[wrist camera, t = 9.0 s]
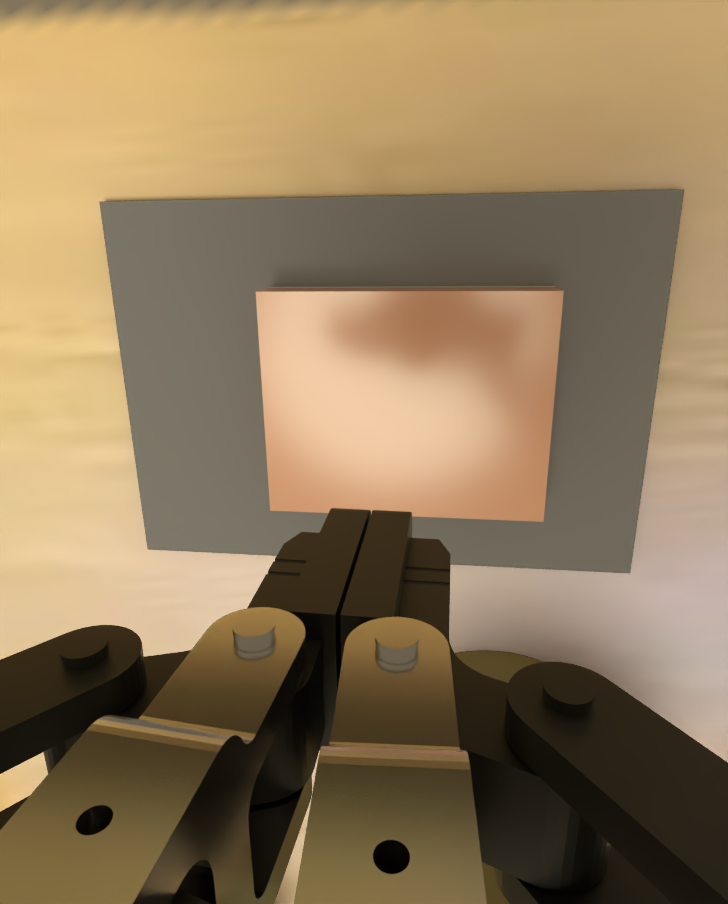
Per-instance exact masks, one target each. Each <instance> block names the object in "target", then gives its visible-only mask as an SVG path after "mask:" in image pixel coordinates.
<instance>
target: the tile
mask: <svg viewBox="0 0 728 904" xmlns="http://www.w3.org/2000/svg"><path fill="white" fill-rule="evenodd" d="M563 294H564V291H563V290H561V289H559V288H557V287H555V286H384V287H269V288H266V289H263V290H259V291H256V306H257V321H258V336H259V351H260V366H261V381H262V396H263V410H264V425H265V440H266V455H267V470H268V485H269V500H270V511H293V512H317V513H329V511H330V509H331V508H343V509H363V510H370V511H371V514H372V511H373V510H385V511H405V512H412V516H415V517H439V518H464V519H488V520H513V521H537V522H544V510H545V499H546V488H547V476H548V465H549V454H550V442H551V431H552V419H553V408H554V397H555V385H556V374H557V363H558V351H559V340H560V329H561V317H562V306H563Z"/></svg>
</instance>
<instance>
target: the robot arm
mask: <svg viewBox="0 0 728 904" xmlns="http://www.w3.org/2000/svg"><path fill="white" fill-rule="evenodd" d="M449 603H450V552H449V551H448V550H447V549H446V547H445V546H444V545H443V544H442V542H441V541H440V540H439V539H424V538H412V512H405V511H385V510H373V511H372V514H371V511H370V510H363V509H343V508H331V509H330V511H329V513H328V516H327V518H326V520H325V522H324V524H323V526H322V529H321V531H320V533H315V532H301V533H299V534H298V535H296V536H295V537H293V538H292V539H290V540H289V541H287V542H286V543H284V544H283V546H282V548H281V549H280V551H279V553H278V555H277V557H276V558H275V562H273V564H272V565H271V567H270V569H269V571H268V574H266V576H265V578H264V580H263V581H262V583H261V585H260V587H259V588H258V590H257V592H256V594H255V595H254V597H253V599H252V601H251V603H250V604H249V606H248V608H247V609H243V610H239V611H236V612H232V613H230V614H228V615H225V616H223V617H222V618H220V619H218V620H217V621H216V622H214V623H213V624H212V625H211V626H210V627H209V628H208V629H207V630H206V632H205V633H204V634H203V636H202V637H201V638H200V640H199V641H198V642H197V643H196V645H195V646H194V647H193V649H192V650H190V651H184V652H178V653H170V654H162V655H155V656H147V657H144V656H143V649H142V642H141V640H140V637H139V636H138V635H137V634H136V633H135V632H133V631H132V630H130V629H128V628H125V627H121V626H114V625H99V626H91V627H85V628H81V629H78V630H74V631H71V632H69V633H66V634H63V635H61V636H58V637H56V638H53V639H51V640H48V641H46V642H43V643H41V644H39V645H36V646H34V647H31V648H29V649H26V650H24V651H21V652H19V653H16V654H14V655H11V656H9V657H6V658H4V659H1V660H0V774H1V773H3V772H5V771H7V770H9V769H11V768H13V767H15V766H17V765H19V764H21V763H23V762H24V761H26V760H28V759H30V758H32V757H34V756H36V755H38V754H40V753H42V752H44V756H45V761H46V766H47V770H48V775H47V776H46V777H45V779H44V780H43V781H42V782H41V783H40V784H39V786H38V787H37V788H36V789H35V790H34V791H33V793H32V794H31V795H30V796H28V797H26V798H25V799H23V800H21V801H19V802H17V803H16V804H14V805H12V806H10V807H8V808H6V809H5V810H3V811H1V812H0V904H274V902H275V899H276V896H277V893H278V891H279V888H280V885H281V882H282V879H283V876H284V874H285V871H286V868H287V865H288V862H289V859H290V856H291V854H292V851H293V848H294V845H295V842H296V839H297V837H298V834H299V831H300V828H301V825H302V822H303V820H304V817H305V814H306V811H307V808H308V805H309V802H310V799H311V795H312V799H311V805H310V811H309V817H308V823H307V829H306V835H305V841H304V847H303V853H302V859H301V865H300V871H299V877H298V883H297V889H296V895H295V901H294V904H487V901H486V893H485V885H484V877H483V868H482V862H483V863H485V864H488V865H490V866H492V867H493V869H494V876H495V879H496V882H497V885H498V887H499V889H500V891H501V892H502V894H503V895H504V897H505V898H506V900H507V901H508V902H509V903H510V904H728V763H727V762H726V761H724V760H723V759H722V758H720V757H719V756H717V755H716V754H714V753H713V752H711V751H710V750H709V749H707V748H706V747H704V746H703V745H701V744H700V743H699V742H697V741H696V740H694V739H693V738H691V737H690V736H688V735H687V734H686V733H684V732H683V731H681V730H680V729H678V728H677V727H675V726H674V725H673V724H671V723H670V722H668V721H667V720H665V719H664V718H663V717H661V716H660V715H658V714H657V713H655V712H654V711H652V710H651V709H650V708H648V707H647V706H645V705H644V704H642V703H641V702H640V701H638V700H637V699H635V698H634V697H632V696H631V695H629V694H628V693H627V692H625V691H624V690H622V689H621V688H619V687H618V686H617V685H615V684H614V683H612V682H611V681H609V680H608V679H606V678H605V677H603V676H601V675H600V674H598V673H596V672H594V671H591V670H589V669H586V668H584V667H581V666H577V665H573V664H568V663H562V662H541V663H536V664H532V665H529V666H526V667H524V668H522V669H520V670H519V671H517V672H516V673H515V674H514V675H513V676H512V678H511V679H510V680H509V683H507V682H504V681H501V680H497V679H494V678H491V677H489V676H486V675H483V674H481V673H479V672H477V671H475V670H473V669H472V668H470V667H469V666H467V665H466V664H465V663H463V662H462V661H461V660H460V659H459V658H458V657H457V656H456V655H455V653H454V652H453V650H452V648H451V645H450V643H449ZM319 750H320V754H319V758H318V764H317V770H316V776H315V782H314V788H313V793H312V773H313V770H314V767H315V763H316V760H317V756H318V752H319Z"/></svg>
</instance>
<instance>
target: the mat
mask: <svg viewBox="0 0 728 904" xmlns="http://www.w3.org/2000/svg"><path fill="white" fill-rule="evenodd" d="M683 194H684V190H636V191H587V192H539V193H491V194H443V195H394V196H346V197H298V198H250V199H202V200H153V201H105V202H100V209H101V216H102V224H103V231H104V238H105V245H106V252H107V260H108V267H109V274H110V281H111V288H112V296H113V303H114V310H115V317H116V324H117V332H118V339H119V346H120V353H121V360H122V368H123V375H124V382H125V389H126V396H127V404H128V411H129V418H130V425H131V432H132V440H133V447H134V454H135V461H136V468H137V476H138V483H139V490H140V497H141V504H142V512H143V519H144V526H145V533H146V541H147V548H148V549H152V550H172V551H192V552H212V553H232V554H252V555H272V556H277V555H278V553H279V551H280V549H281V548H282V546H283V544H284V543H286V542H287V541H289V540H290V539H292V538H293V537H295V536H296V535H298V534H299V533H301V532H315V533H320V531H321V529H322V526H323V524H324V522H325V520H326V518H327V516H328V513H317V512H293V511H270V500H269V485H268V470H267V455H266V440H265V425H264V410H263V396H262V381H261V366H260V351H259V336H258V321H257V306H256V291H259V290H263V289H266V288H269V287H384V286H555V287H557V288H559V289H561V290H563V291H564V294H563V306H562V317H561V329H560V340H559V351H558V363H557V374H556V385H555V397H554V408H553V419H552V431H551V442H550V454H549V465H548V476H547V488H546V499H545V510H544V522H537V521H513V520H488V519H464V518H439V517H415V516H412V538H424V539H439V540H440V541H441V542H442V544H443V545H444V546H445V547H446V549H447V550H448V551H449V552H450V564H453V565H473V566H493V567H514V568H534V569H554V570H574V571H594V572H614V573H630V570H631V563H632V555H633V548H634V541H635V534H636V527H637V520H638V513H639V506H640V499H641V492H642V485H643V478H644V471H645V463H646V456H647V449H648V442H649V435H650V428H651V421H652V414H653V407H654V400H655V393H656V386H657V378H658V371H659V364H660V357H661V350H662V343H663V336H664V329H665V322H666V315H667V308H668V301H669V294H670V286H671V279H672V272H673V265H674V258H675V251H676V244H677V237H678V230H679V223H680V216H681V209H682V202H683Z"/></svg>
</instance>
